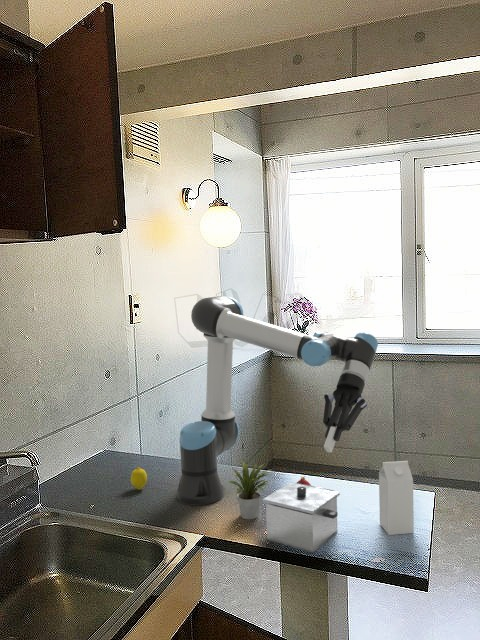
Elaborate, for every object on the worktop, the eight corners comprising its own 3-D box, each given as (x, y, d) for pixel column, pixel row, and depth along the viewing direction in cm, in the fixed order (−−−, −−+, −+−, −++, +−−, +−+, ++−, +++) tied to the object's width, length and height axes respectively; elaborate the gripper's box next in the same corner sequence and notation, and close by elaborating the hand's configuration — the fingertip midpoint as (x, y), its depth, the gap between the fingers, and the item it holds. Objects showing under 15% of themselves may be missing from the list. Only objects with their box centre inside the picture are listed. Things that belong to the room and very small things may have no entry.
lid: (262, 502, 150) (262, 491, 150) (292, 484, 163) (292, 474, 163) (313, 514, 141) (313, 503, 141) (340, 494, 154) (340, 484, 154)
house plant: (260, 531, 156) (258, 474, 155) (217, 523, 162) (215, 468, 161) (280, 511, 169) (279, 458, 167) (239, 504, 175) (237, 453, 174)
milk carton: (379, 524, 158) (378, 458, 157) (404, 522, 159) (403, 456, 157) (388, 535, 151) (387, 466, 150) (414, 533, 152) (413, 465, 150)
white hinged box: (258, 536, 153) (256, 501, 152) (284, 518, 164) (283, 484, 163) (323, 556, 141) (322, 517, 140) (347, 534, 153) (346, 498, 152)
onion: (311, 506, 172) (311, 480, 171) (293, 505, 173) (292, 480, 172) (313, 498, 178) (312, 474, 177) (295, 497, 179) (294, 473, 178)
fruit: (148, 485, 194) (146, 463, 193) (147, 491, 188) (146, 468, 188) (131, 487, 193) (130, 464, 193) (130, 493, 188) (129, 469, 187)
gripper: (377, 388, 164) (353, 460, 152) (336, 384, 171) (311, 452, 159) (370, 373, 159) (345, 446, 147) (328, 370, 167) (301, 439, 155)
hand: (327, 449), depth 153 cm, fingers closed
